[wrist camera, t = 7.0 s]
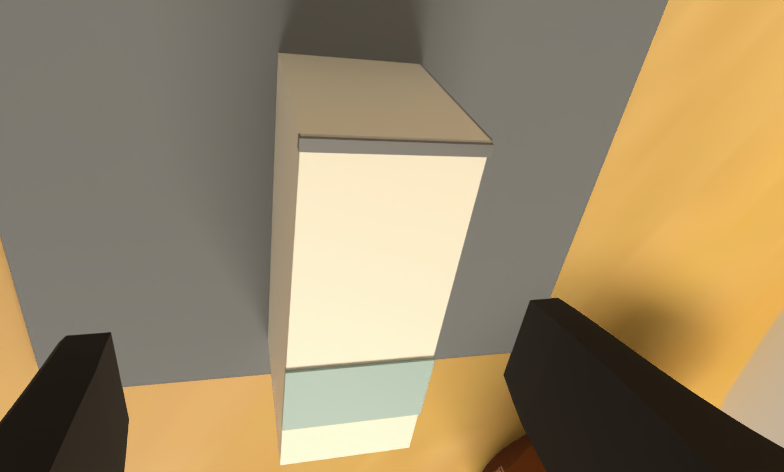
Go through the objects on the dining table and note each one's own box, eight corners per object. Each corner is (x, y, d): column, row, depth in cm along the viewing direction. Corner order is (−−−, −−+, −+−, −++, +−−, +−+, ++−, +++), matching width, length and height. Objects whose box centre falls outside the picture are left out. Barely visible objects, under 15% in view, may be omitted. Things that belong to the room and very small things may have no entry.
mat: (51, 377, 21) (45, 394, 20) (-361, -1117, 7) (-423, -1221, 6) (521, 339, 26) (528, 350, 26) (839, -495, 12) (873, -514, 12)
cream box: (266, 338, 21) (279, 468, 17) (276, 52, 15) (299, 136, 11) (375, 331, 22) (413, 450, 18) (423, 64, 16) (498, 143, 12)
